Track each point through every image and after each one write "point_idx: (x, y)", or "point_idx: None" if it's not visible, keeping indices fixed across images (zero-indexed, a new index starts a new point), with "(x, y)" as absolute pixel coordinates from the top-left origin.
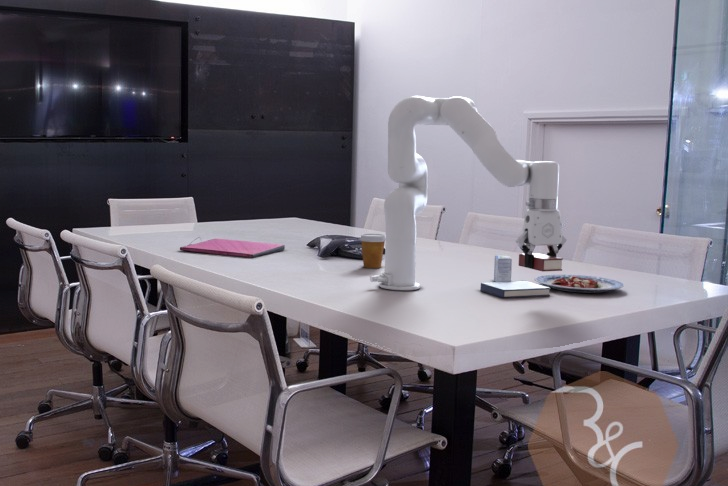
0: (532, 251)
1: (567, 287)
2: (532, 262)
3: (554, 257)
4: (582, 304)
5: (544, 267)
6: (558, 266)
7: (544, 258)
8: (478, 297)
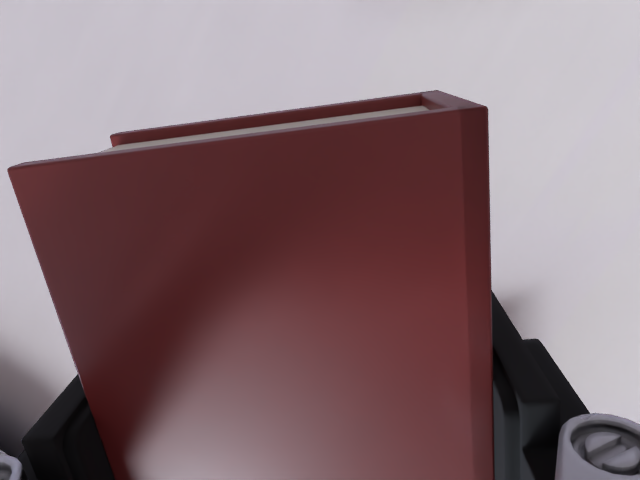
0: (572, 468)
1: (1, 454)
2: (498, 320)
3: (129, 294)
4: (48, 141)
5: (409, 108)
6: (153, 143)
7: (400, 192)
8: (615, 412)
